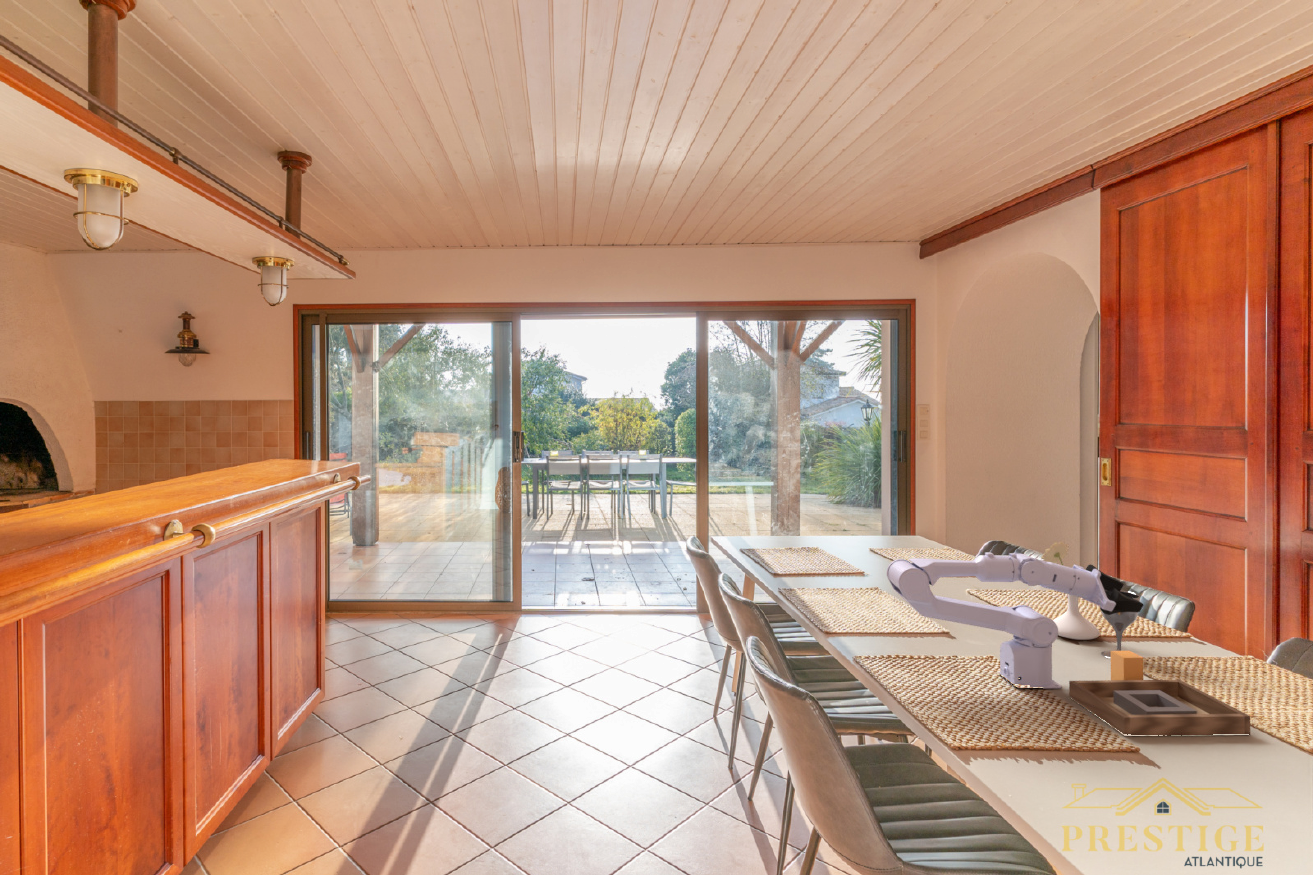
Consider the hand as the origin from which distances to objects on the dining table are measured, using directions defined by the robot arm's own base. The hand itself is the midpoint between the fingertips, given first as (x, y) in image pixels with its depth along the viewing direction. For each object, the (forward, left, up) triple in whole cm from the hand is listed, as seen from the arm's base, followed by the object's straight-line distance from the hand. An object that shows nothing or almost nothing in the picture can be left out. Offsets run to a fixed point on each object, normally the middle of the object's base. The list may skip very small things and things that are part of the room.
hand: (1130, 597), depth 136 cm
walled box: (-6, -15, -18) cm, 25 cm away
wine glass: (+8, +15, -19) cm, 25 cm away
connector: (-2, -2, -19) cm, 19 cm away
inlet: (-6, -15, -18) cm, 25 cm away
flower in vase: (+5, +29, -19) cm, 35 cm away
